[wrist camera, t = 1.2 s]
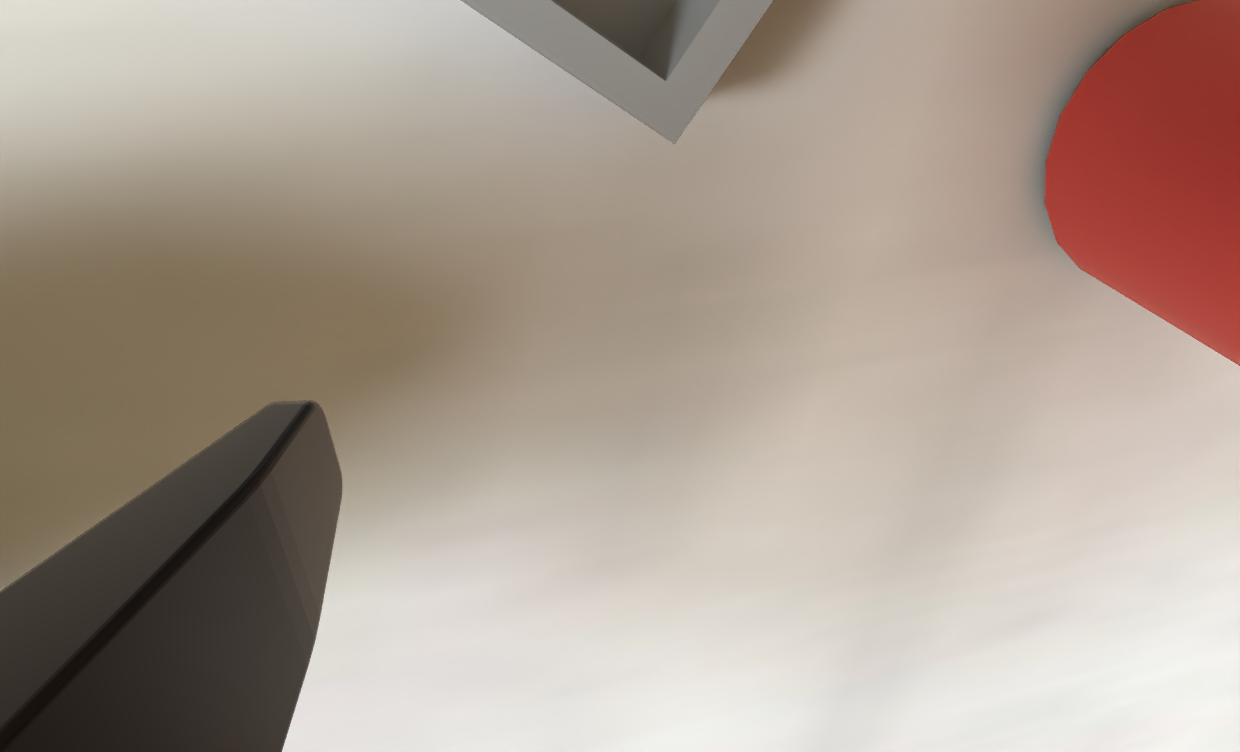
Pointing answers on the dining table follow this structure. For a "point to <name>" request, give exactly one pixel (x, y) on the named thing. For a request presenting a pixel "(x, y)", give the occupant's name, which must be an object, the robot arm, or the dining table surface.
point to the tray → (636, 48)
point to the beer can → (1159, 170)
